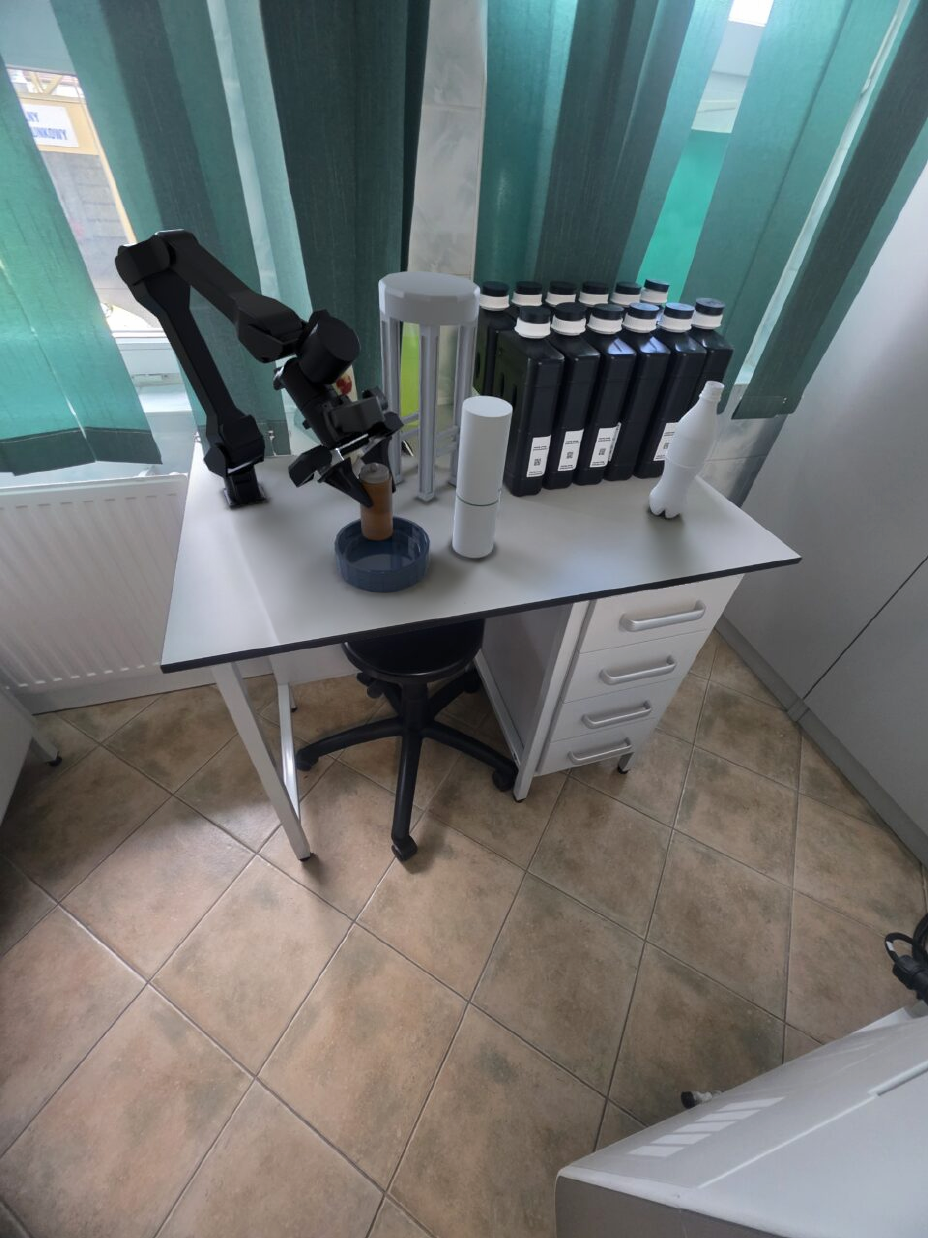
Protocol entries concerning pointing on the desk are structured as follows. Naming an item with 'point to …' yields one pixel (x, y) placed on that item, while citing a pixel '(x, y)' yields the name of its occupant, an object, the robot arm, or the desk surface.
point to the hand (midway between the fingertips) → (382, 499)
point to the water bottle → (687, 452)
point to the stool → (427, 361)
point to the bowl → (383, 556)
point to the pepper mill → (377, 502)
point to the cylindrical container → (480, 473)
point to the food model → (348, 387)
